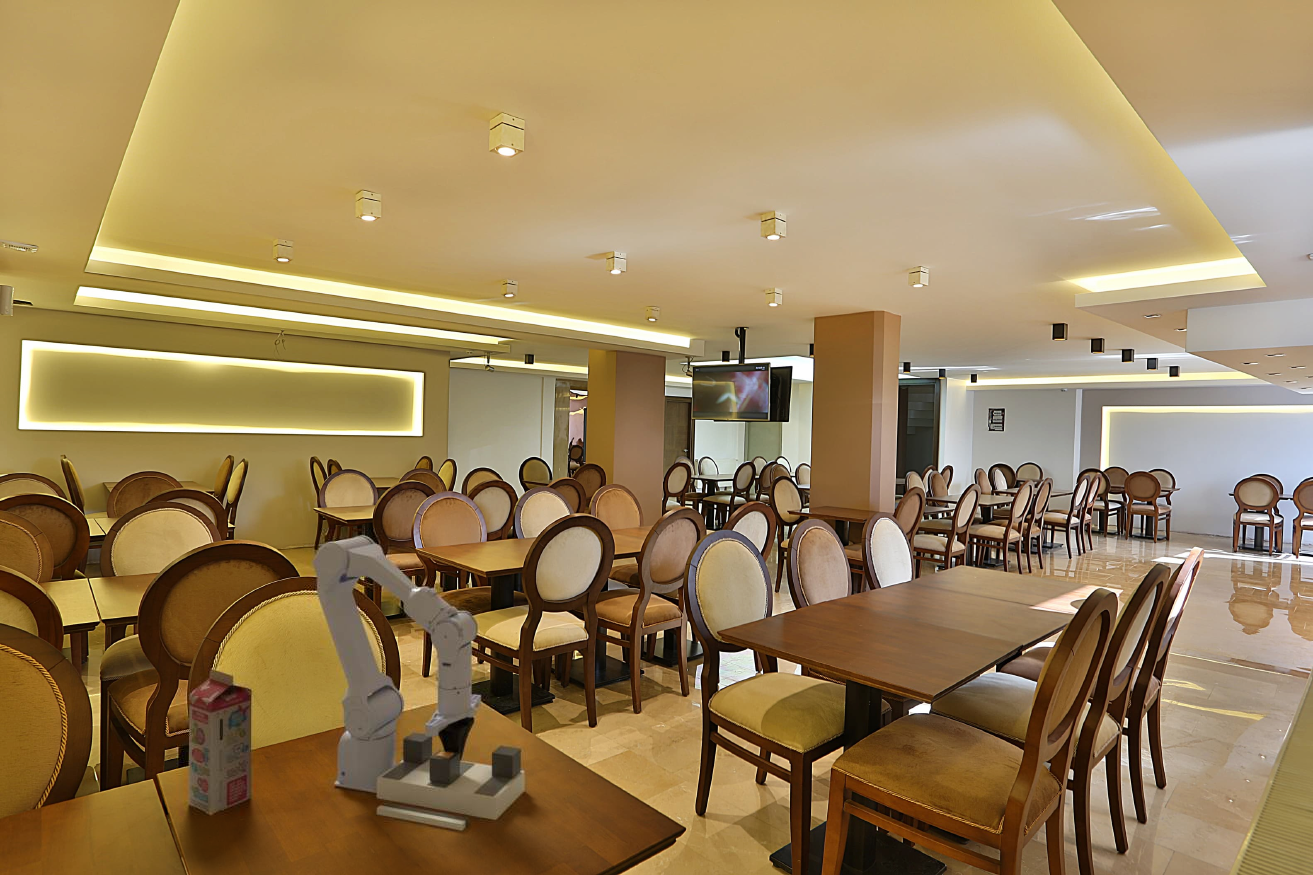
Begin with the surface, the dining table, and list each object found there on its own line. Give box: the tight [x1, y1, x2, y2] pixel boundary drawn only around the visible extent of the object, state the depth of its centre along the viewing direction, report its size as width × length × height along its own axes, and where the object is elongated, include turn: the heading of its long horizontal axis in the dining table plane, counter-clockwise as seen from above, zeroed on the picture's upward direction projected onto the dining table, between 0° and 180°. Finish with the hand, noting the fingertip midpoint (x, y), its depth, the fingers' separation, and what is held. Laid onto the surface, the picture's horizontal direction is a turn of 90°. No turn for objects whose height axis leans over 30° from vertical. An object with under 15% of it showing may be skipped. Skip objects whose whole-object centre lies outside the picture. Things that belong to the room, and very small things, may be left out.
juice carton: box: [188, 668, 253, 814], centre depth 121 cm, size 7×7×22 cm
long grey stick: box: [376, 802, 469, 831], centre depth 116 cm, size 16×2×1 cm, turn 73°
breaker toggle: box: [430, 749, 460, 784], centre depth 122 cm, size 4×3×4 cm
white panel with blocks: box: [376, 732, 526, 821], centre depth 124 cm, size 23×10×8 cm, turn 73°
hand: (454, 761), depth 125 cm, fingers closed
